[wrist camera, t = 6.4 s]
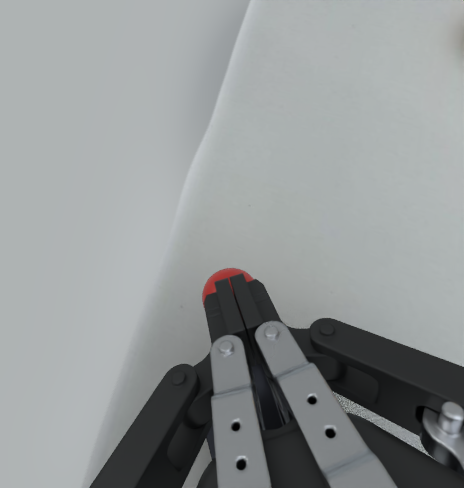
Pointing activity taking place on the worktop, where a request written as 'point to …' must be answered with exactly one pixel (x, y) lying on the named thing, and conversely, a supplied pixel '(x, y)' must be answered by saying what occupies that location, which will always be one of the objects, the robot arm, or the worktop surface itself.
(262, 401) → the clamp lever
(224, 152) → the worktop surface
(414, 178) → the worktop surface
